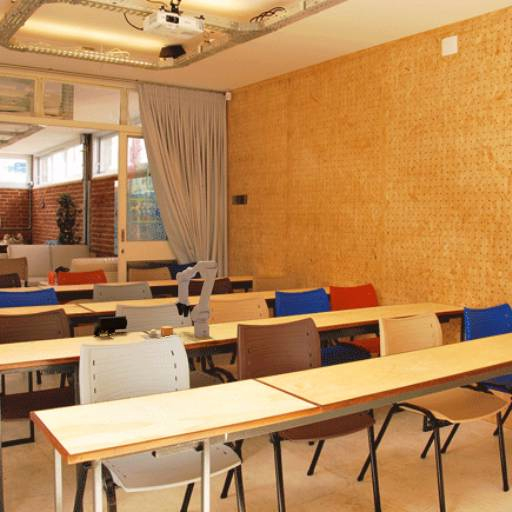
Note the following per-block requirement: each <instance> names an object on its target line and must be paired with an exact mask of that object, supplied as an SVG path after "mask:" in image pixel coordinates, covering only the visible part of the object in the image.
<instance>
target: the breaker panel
mask: <svg viewBox="0 0 512 512" xmlns="http://www.w3.org/2000/svg"><path fill="white" fill-rule="evenodd" d="M173 335H179V336H178V337H181V335H180V334H177V333H176V332H174V331H173ZM139 336H140V337H141V338H143V339H145V340H153V339H155V340H156V339H162V338H161V337H165V336H162V335H161V332H159V333H157V332H156V334H151V333H150V332H149V333H148V334H141V335H140V334H139ZM168 336H170V335H168Z"/></svg>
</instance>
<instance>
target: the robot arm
mask: <svg viewBox="0 0 512 512" xmlns="http://www.w3.org/2000/svg"><path fill="white" fill-rule="evenodd" d="M218 268H219V266H218V263H217V261H216V260H214V259H213V260H199V261H198V262H196V264H195V265H194V266H193V267H191V266H188V267H187V268H186V269H185V270H183V271H181V272H177V273H176V275H175V276H176V277H175V280H176V281H177V283H178V284H177V285H178V288H177V290H178V292H177V294H178V298H177V299H176V303H174V304H175V306H176V309H177V313H178V316H183V318H188V316H189V313H190V318H191V320H192V322H193V333H194V334H193V335H194V336H195V337H199V338H203V337H204V338H205V337H210V325H209V324H208V321H209V320H210V318H211V312H212V311H211V307H210V306H209V302H210V300H211V296H212V293H213V292H212V291H213V290H214V289H213V288H214V285H215V281H216V277H217V273H218ZM198 272H199V274H200V276H201V278H203V279H204V282H203V285H202V287H201V293H200V296H199V300H198V303H197V304H196V305H195V306H194V307H193V308H192V305H191V302H190V301H189V285H190V281H191V279H192V278H194V277H196V274H197V273H198ZM191 308H192V310H191ZM190 310H191V312H190Z"/></svg>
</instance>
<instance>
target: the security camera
mask: <svg viewBox="0 0 512 512" xmlns="http://www.w3.org/2000/svg"><path fill="white" fill-rule="evenodd" d="M97 324H98V325H97V327H96V328H95V330H94V331H93V335H94V336H95V337H100V336H101V334H105V333H106V332H107V333H106V335H107V336H111V334H116V331H117V330H118V331H119V330H127V327H128V319H127V317H126V316H125V315H119V316H118V315H117V316H106V317H98V320H97Z"/></svg>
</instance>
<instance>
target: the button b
mask: <svg viewBox="0 0 512 512" xmlns="http://www.w3.org/2000/svg"><path fill="white" fill-rule="evenodd" d="M149 333H151V334H156V333H157V330H156V329H150V332H149Z"/></svg>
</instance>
